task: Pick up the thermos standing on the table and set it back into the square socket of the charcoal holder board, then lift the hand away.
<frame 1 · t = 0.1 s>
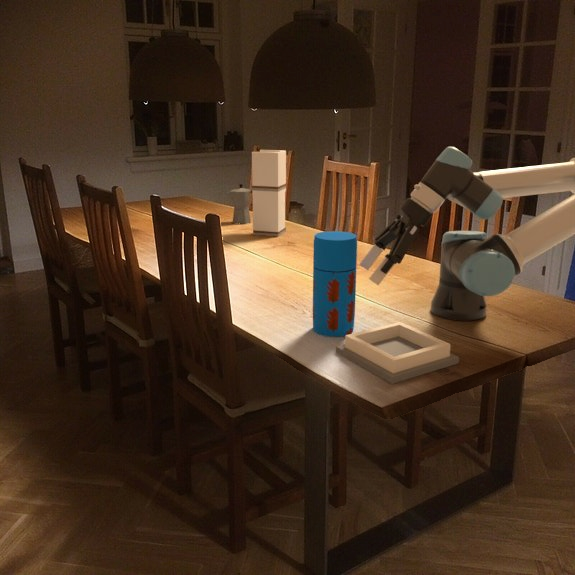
hand: (368, 274, 158), 15 cm above the table, tool tilted 35°, fingers open, 13 cm apart
coffeepot: (243, 222, 297), on the table
thermos: (333, 330, 164), on the table
stacked white cubes: (269, 233, 274), on the table
holder: (396, 357, 147), on the table
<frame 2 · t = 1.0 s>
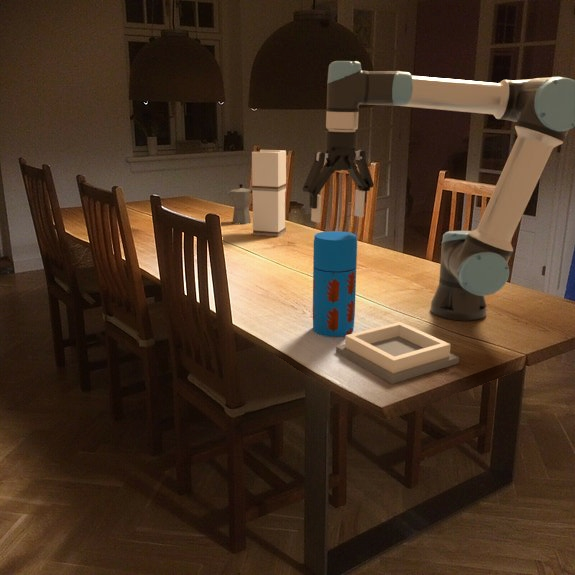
hand: (337, 219, 155), 29 cm above the table, tool pointing down, fingers open, 13 cm apart
nothing on the table moved.
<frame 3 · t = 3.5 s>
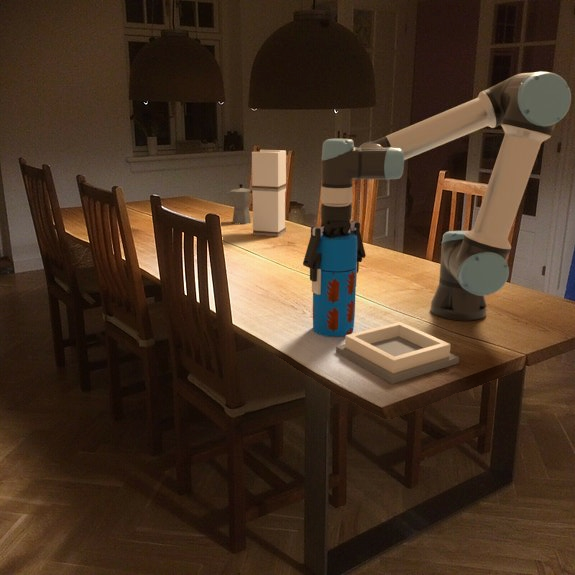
hand: (334, 289, 161), 11 cm above the table, tool pointing down, fingers closed on thermos, 11 cm apart
thermos: (333, 330, 164), on the table, touching gripper
everything else where it was.
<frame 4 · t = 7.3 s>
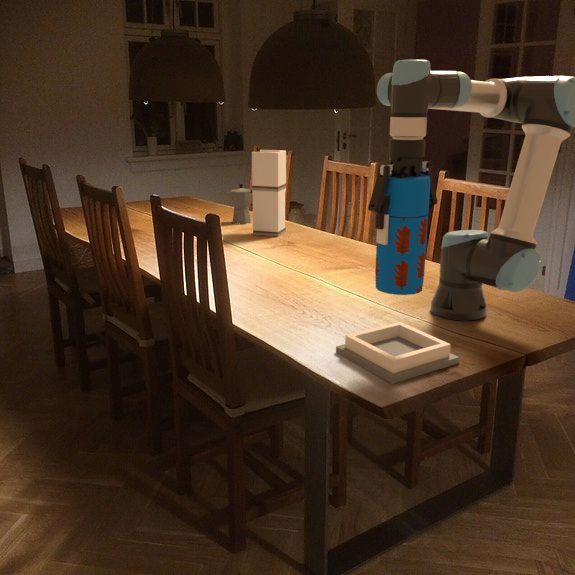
hand: (401, 240, 139), 28 cm above the table, tool pointing down, fingers closed on thermos, 11 cm apart
thermos: (398, 288, 142), point 17 cm above the table, touching gripper
everything else where it was.
when the fingers open (14 cm above the table, at t = 11.0 s): thermos drops 1 cm, resting on holder.
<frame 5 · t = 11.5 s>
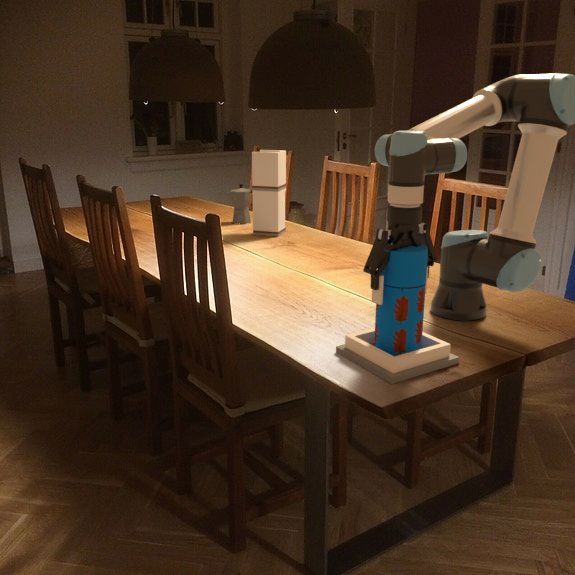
hand: (399, 297, 143), 15 cm above the table, tool pointing down, fingers open, 13 cm apart
thermos: (397, 352, 147), point 1 cm above the table, touching holder
everything else where it was.
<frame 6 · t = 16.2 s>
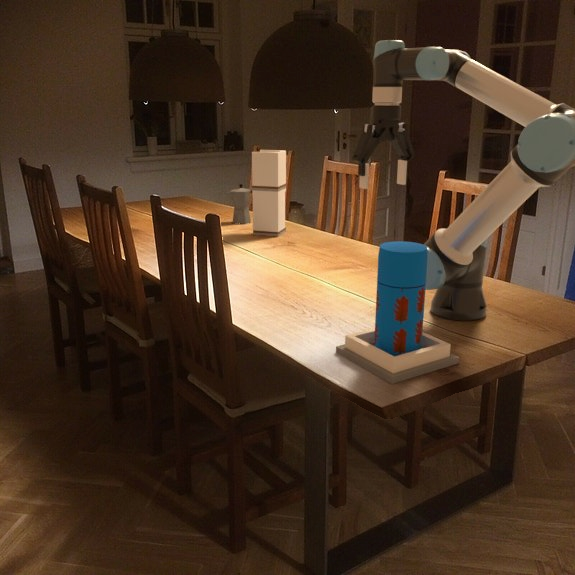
hand: (382, 186, 170), 35 cm above the table, tool pointing down, fingers open, 13 cm apart
nothing on the table moved.
at the end: thermos 0.4 cm off-centre on the holder, point 1.3 cm above the holder's base; thermos tilted 0°; the gripper is holding nothing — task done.
